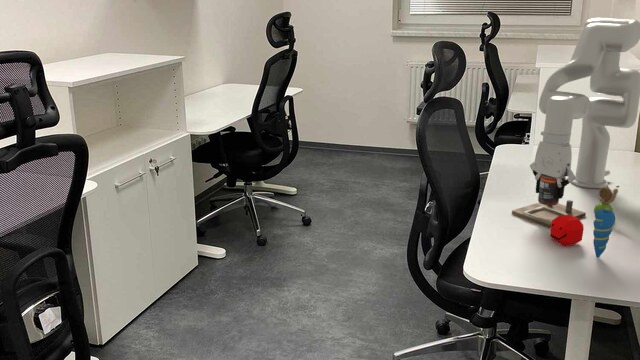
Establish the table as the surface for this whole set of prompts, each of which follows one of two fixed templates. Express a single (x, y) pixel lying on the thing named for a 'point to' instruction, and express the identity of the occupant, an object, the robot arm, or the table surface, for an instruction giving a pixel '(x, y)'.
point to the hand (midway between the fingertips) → (548, 194)
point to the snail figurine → (606, 198)
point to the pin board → (547, 212)
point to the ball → (566, 230)
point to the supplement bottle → (547, 190)
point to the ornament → (602, 229)
